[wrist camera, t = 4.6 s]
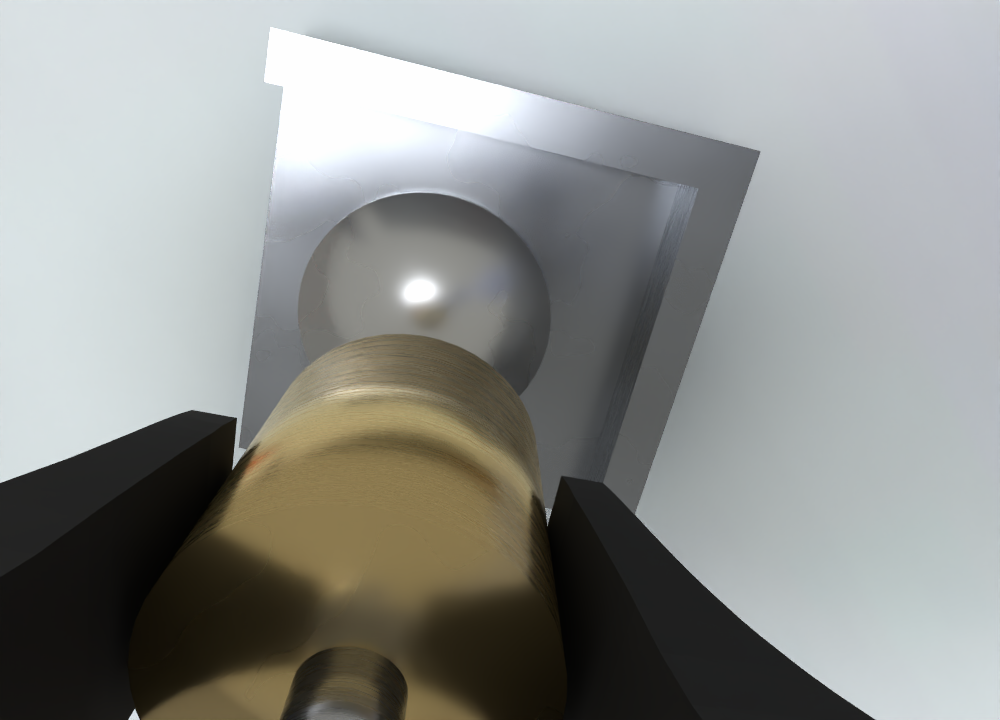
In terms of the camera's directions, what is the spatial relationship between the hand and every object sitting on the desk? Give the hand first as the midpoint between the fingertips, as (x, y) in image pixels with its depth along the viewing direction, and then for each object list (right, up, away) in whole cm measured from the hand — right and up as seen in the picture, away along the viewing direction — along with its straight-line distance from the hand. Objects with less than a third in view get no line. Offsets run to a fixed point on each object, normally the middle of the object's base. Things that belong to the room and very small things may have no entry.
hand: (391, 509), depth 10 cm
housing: (0, 0, +2) cm, 2 cm away
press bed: (+1, +4, +8) cm, 9 cm away
